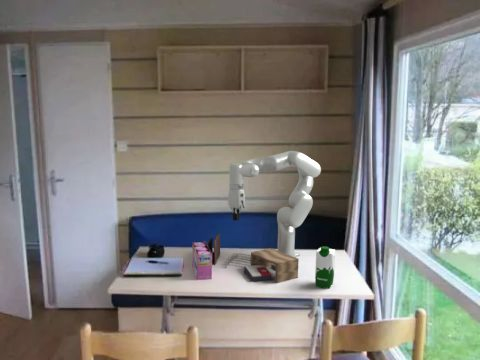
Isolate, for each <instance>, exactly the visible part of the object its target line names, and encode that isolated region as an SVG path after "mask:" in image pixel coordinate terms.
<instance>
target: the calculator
mask: <svg viewBox="0 0 480 360" xmlns="http://www.w3.org/2000/svg"><path fill="white" fill-rule="evenodd" d="M243 272H244V274H245V275H246V276H247V278H248V279H249V280H250V282H251V283H258V282H268V281H273V274H272V273H271V272H270V270H268V268H266V267H265V266H264V265H251V264H249V265H244V267H243Z"/></svg>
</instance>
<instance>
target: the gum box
mask: <svg viewBox="0 0 480 360" xmlns="http://www.w3.org/2000/svg"><path fill="white" fill-rule="evenodd" d="M207 244H208V242H206V241H205V240H204V241H202V242H199V241H198V242H195V241H192V247H191V248H192V249H191V250H192V257H191V258H192V261H191V265H192V268H193V272H194V275H195V278H196V280H197V281H203V280H212V279H213V277H212V275H213V265H212V253H211V251H210V249H209V247H208V245H207Z"/></svg>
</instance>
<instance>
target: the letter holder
mask: <svg viewBox="0 0 480 360" xmlns="http://www.w3.org/2000/svg"><path fill="white" fill-rule="evenodd" d="M207 245H208V247H209V249H210V251H211V253H212V266H215V265H216V264H217V263H218V262H217V261H218V259H219V258H220V255H221V233H217V235H216V236H215V239H213V237H211V238H210V239H209V240H208V241H207Z"/></svg>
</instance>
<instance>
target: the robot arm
mask: <svg viewBox="0 0 480 360" xmlns="http://www.w3.org/2000/svg"><path fill="white" fill-rule="evenodd" d="M290 167H294V168H297V172H298V176H299V177H298V182H297V183H296V186H295V187H294V189H293V190H292V192H291V194H290V195H289V197H288V203H289V205H290V206H291V207H288V206H282V207H281V208H279V209H278V211H277V214H276V221H277V232H278V233H277V251H280V252H282V253H285V254H287V255H290V256H293V257H295V258H298V257H301V254H300V252H295V239H296V238H295V237H296V229H297V228H298V227H300V226H301V225H302V224H303V223H304V221H305V219H306V218H307V216H308V214H309V213H310V212H311V209H312V208H313V204H314V200H313V197H312V196H311V195H310V193H311V191H312V189H313V186H314V178H317V177H318V176H320V175H321V172H322V168H321V164H319V163H318V162H317V161H315V160H314V159H311V157H309V156H308V155H306V154H305V153H303V152H300V151H296V150H289V151H288V150H287V151H284V152H281V153H277V154H273V155H268V156H263V157H256V158H251V159H248V160H244V161H243V162H240V163H239V162H238V163H231V164H230V165H229V167H228V168H229V171H228V173H229V178H228V179H229V181H228V182H229V183H228V186H229V187H228V197H227V203H228V204H227V205H228V207H229V208H230V209H231V212H232V221H234V222H237V221H240V214H241V212H243V211H244V209H245V208H246V195H245V194H246V193H245V189H244V178H255V177H257V176H258V175H259V174H260V172H275V171H279V170H282V169H283V170H284V169H287V168H290ZM292 207H293V208H292Z"/></svg>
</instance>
